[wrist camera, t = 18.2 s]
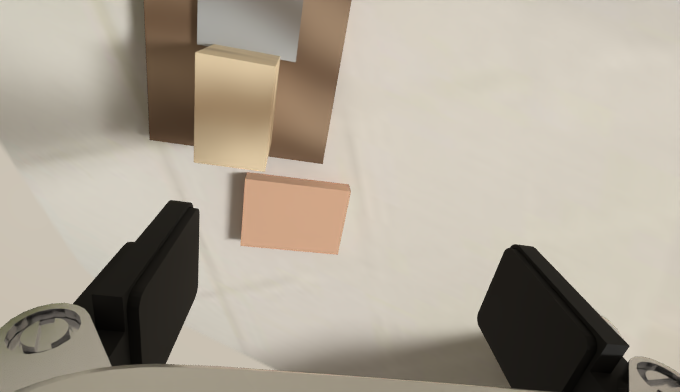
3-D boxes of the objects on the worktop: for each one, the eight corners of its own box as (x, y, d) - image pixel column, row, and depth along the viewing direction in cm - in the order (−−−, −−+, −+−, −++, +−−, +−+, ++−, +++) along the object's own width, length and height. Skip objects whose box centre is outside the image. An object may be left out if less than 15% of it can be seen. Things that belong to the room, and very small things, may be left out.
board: (321, 158, 28) (322, 163, 27) (155, 134, 26) (149, 139, 25) (359, -58, 22) (362, -61, 21) (147, -109, 20) (138, -116, 19)
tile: (337, 254, 31) (240, 245, 30) (336, 243, 33) (243, 234, 31) (350, 191, 29) (245, 178, 27) (348, 182, 30) (247, 170, 29)
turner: (285, 145, 26) (281, 174, 22) (197, 133, 25) (175, 159, 21) (312, -68, 21) (314, -88, 16) (201, -95, 20) (172, -124, 15)
